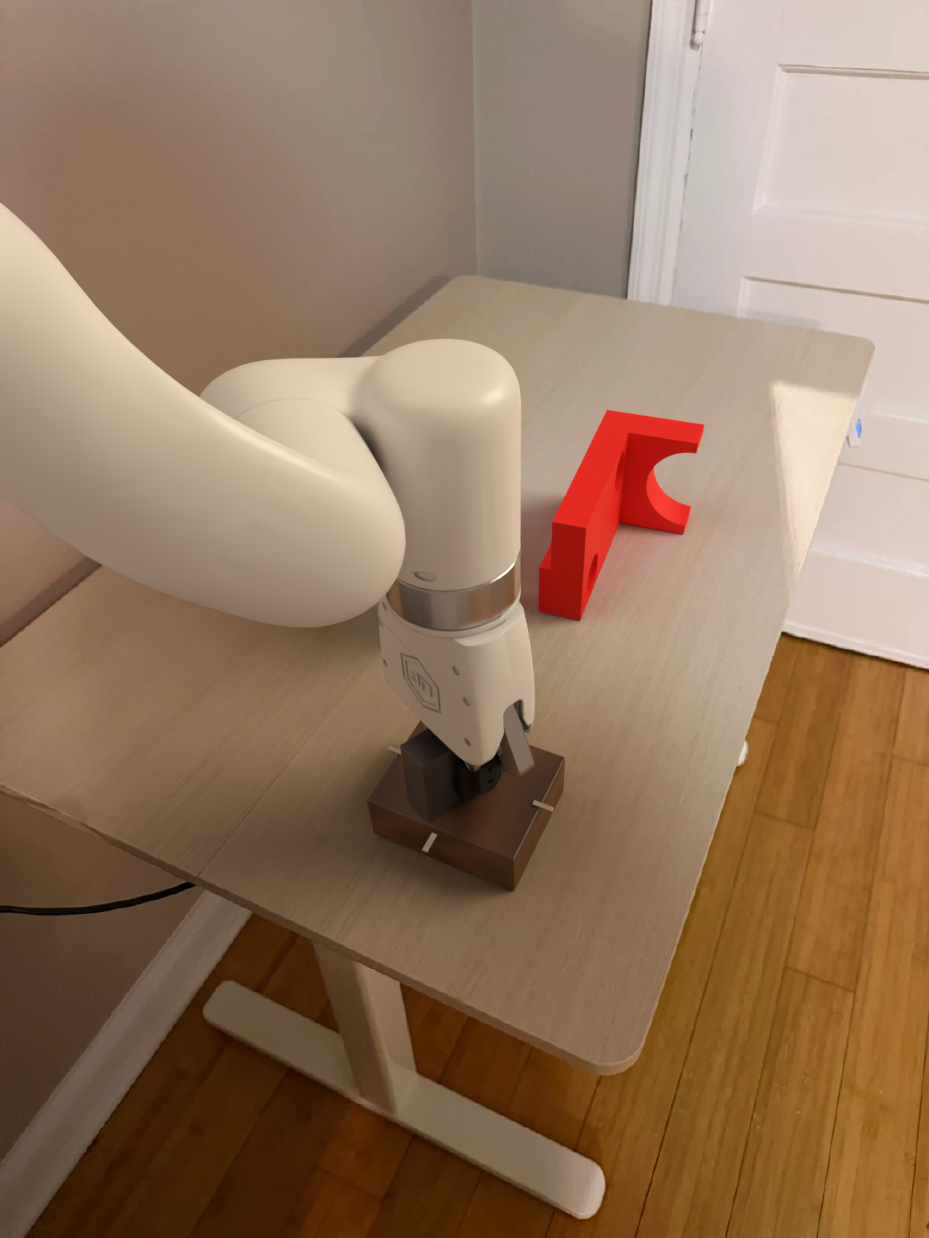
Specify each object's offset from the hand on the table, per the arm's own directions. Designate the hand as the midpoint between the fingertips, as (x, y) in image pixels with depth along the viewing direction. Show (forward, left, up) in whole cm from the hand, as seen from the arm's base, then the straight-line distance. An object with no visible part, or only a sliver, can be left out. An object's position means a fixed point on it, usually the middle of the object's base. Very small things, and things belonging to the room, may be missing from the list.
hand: (465, 772), depth 61 cm
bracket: (+22, +22, -5) cm, 31 cm away
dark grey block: (0, 0, -1) cm, 1 cm away
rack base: (0, 0, -5) cm, 5 cm away
